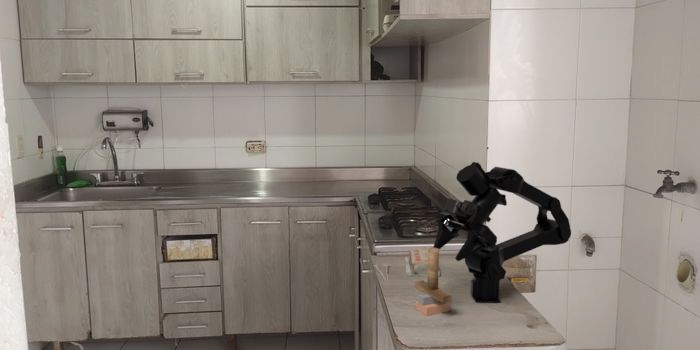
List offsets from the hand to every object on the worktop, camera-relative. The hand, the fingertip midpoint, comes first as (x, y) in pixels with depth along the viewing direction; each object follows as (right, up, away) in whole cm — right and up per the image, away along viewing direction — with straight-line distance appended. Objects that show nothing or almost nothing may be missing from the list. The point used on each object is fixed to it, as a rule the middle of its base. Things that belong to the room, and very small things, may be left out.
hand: (445, 255), depth 141 cm
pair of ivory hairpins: (-13, -11, +28) cm, 33 cm away
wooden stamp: (-3, -10, 0) cm, 10 cm away
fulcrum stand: (-3, -14, 0) cm, 14 cm away
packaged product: (-1, -9, +35) cm, 36 cm away
